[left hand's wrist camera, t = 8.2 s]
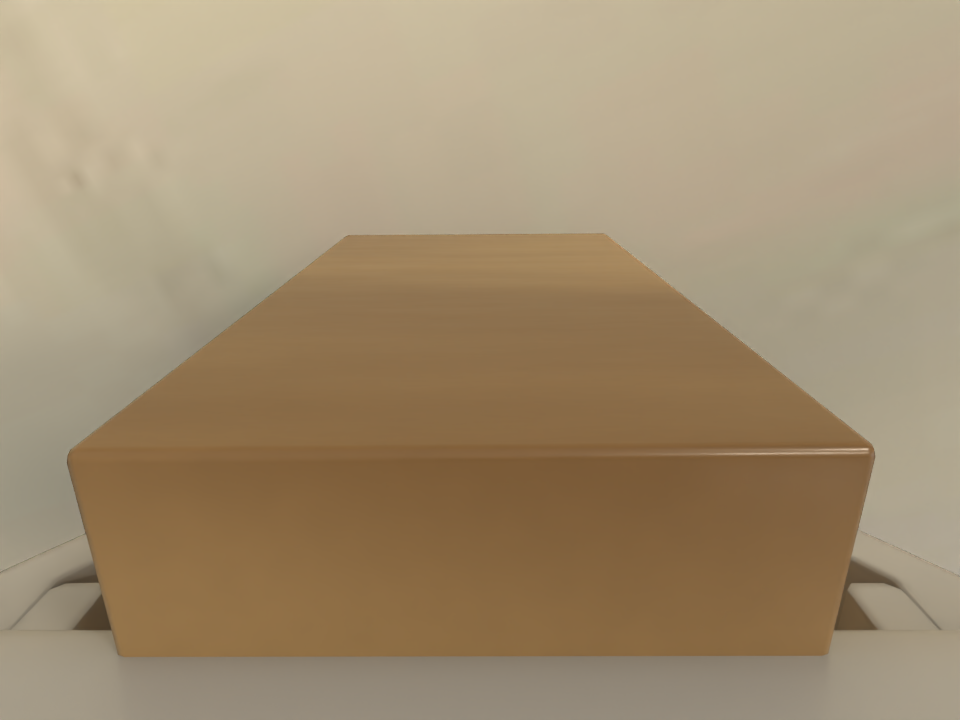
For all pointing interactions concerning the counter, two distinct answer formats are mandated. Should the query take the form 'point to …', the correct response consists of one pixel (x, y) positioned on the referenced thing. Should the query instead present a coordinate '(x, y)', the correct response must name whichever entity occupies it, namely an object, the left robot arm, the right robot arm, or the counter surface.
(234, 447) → the bar
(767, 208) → the counter surface
